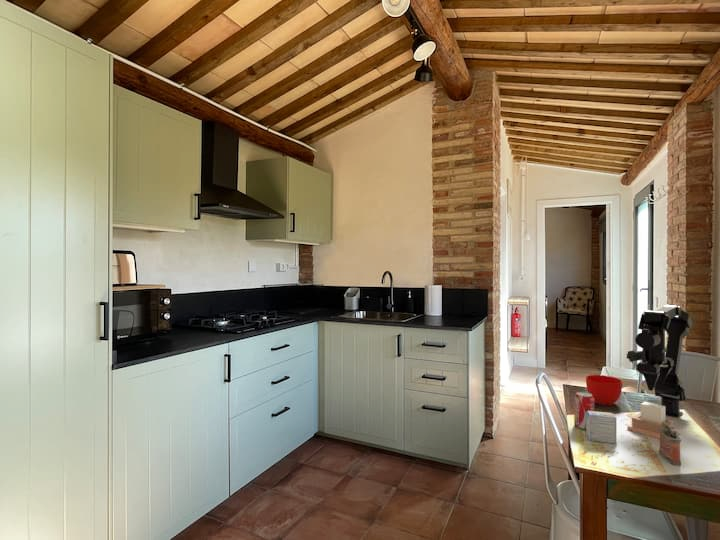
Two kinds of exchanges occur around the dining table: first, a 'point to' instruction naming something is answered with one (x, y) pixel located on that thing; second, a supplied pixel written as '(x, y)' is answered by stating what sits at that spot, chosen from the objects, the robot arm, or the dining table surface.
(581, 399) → the beverage can
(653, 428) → the dock
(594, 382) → the red bowl
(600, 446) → the dining table surface
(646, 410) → the plug
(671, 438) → the lighter
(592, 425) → the medicine box
